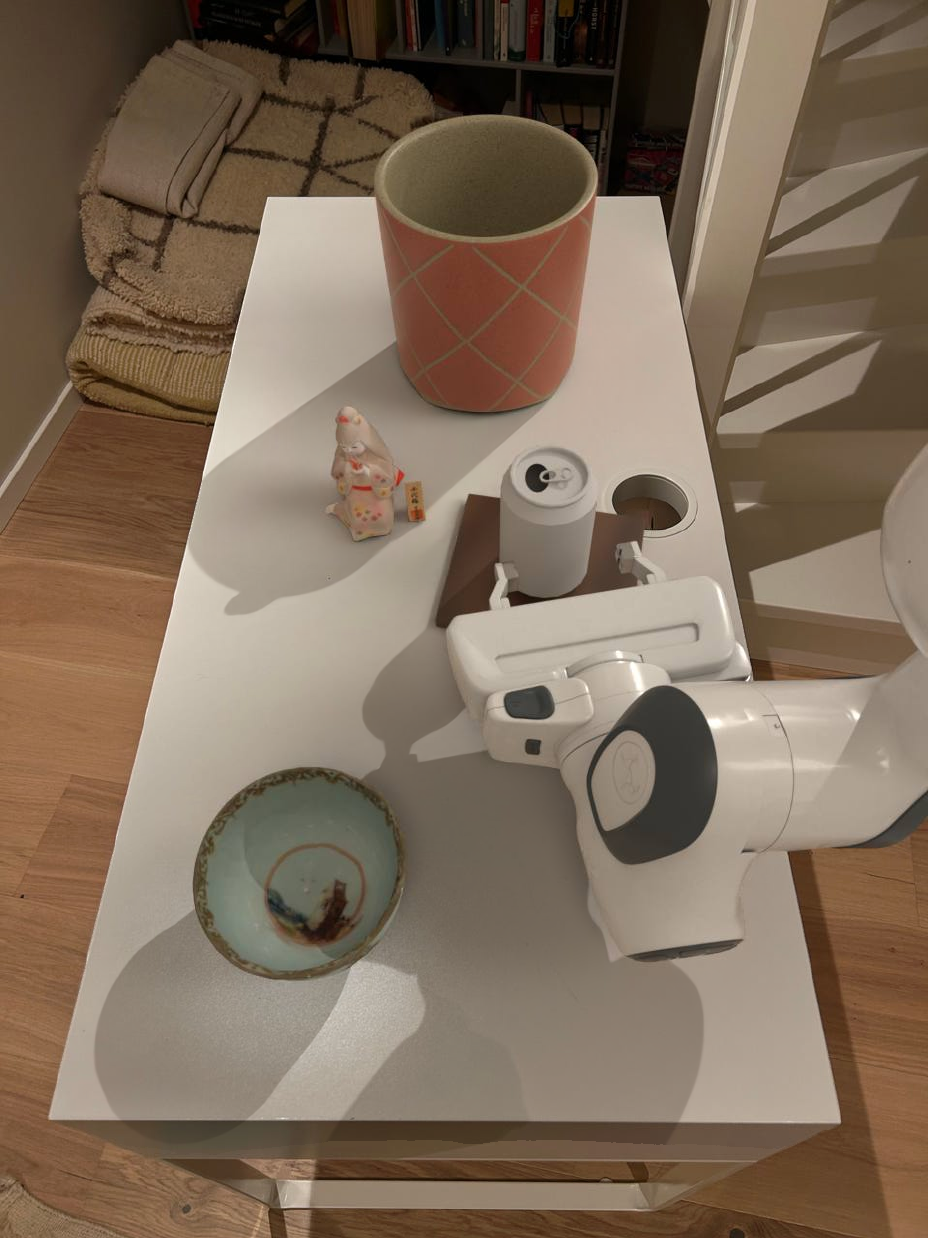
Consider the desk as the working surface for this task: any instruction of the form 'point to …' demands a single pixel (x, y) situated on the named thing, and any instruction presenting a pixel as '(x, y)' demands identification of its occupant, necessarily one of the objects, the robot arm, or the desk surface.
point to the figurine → (368, 479)
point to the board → (481, 552)
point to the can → (548, 519)
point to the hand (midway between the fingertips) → (564, 556)
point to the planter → (486, 257)
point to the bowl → (300, 874)
